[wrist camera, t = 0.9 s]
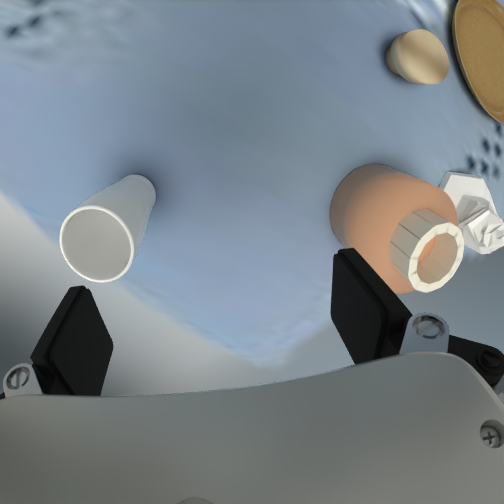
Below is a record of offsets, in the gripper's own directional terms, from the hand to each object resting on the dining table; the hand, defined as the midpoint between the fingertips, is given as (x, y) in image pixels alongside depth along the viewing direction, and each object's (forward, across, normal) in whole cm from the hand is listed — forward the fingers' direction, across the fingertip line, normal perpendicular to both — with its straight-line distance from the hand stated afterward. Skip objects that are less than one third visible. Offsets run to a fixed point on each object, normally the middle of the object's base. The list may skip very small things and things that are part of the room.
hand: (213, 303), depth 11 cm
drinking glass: (+27, +10, +2) cm, 29 cm away
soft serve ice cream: (+27, -38, +10) cm, 47 cm away
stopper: (+27, -26, -13) cm, 39 cm away
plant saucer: (+28, -47, -18) cm, 57 cm away
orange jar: (+27, -21, +8) cm, 35 cm away
